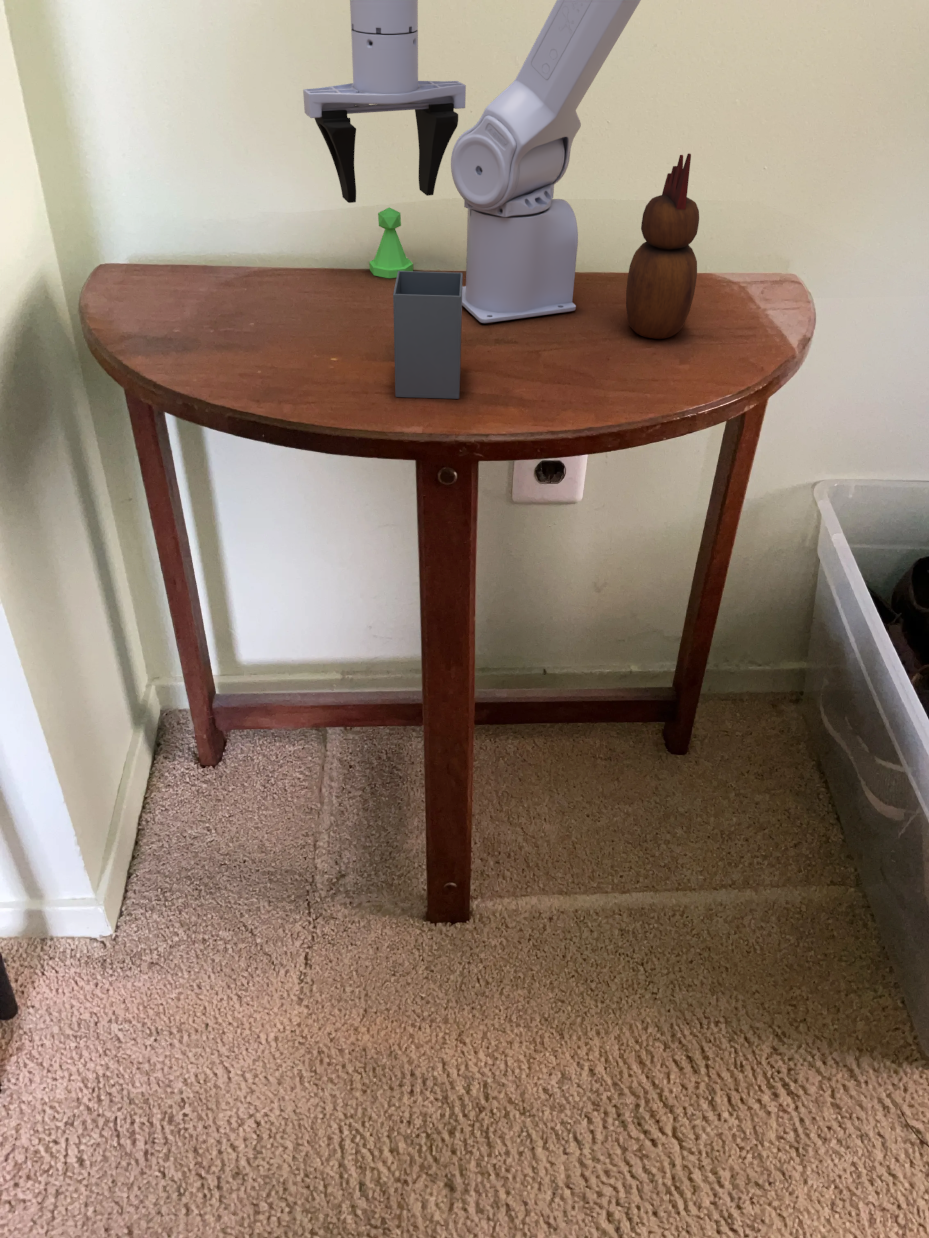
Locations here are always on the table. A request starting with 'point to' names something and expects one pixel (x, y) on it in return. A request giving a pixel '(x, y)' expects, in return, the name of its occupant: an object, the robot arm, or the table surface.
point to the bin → (427, 334)
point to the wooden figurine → (664, 260)
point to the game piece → (390, 248)
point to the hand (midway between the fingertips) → (388, 196)
